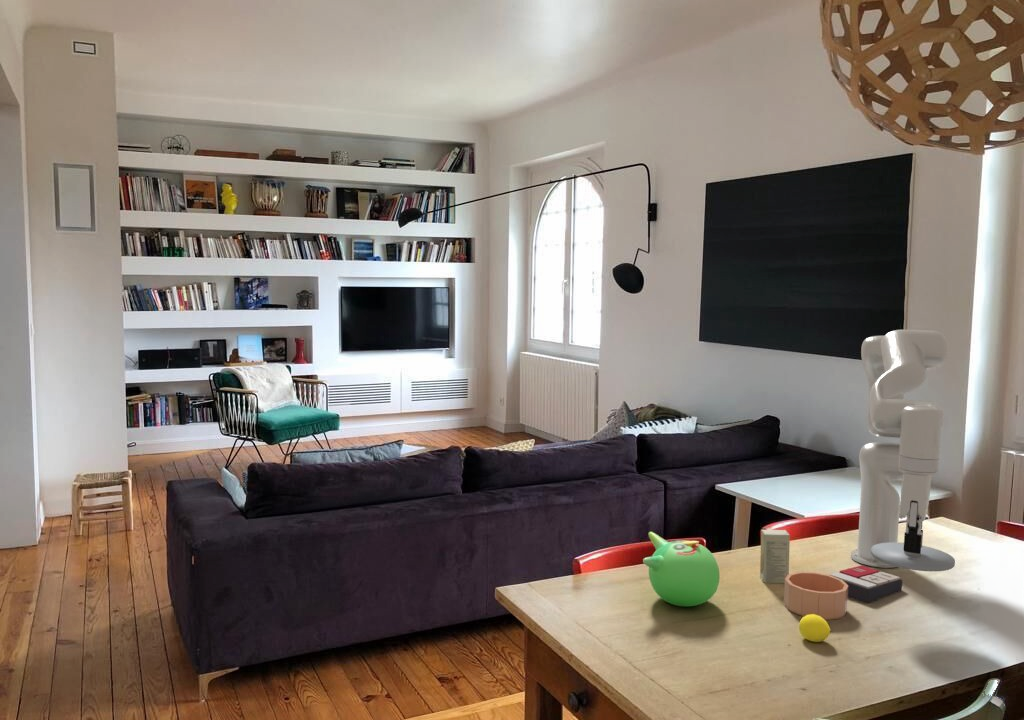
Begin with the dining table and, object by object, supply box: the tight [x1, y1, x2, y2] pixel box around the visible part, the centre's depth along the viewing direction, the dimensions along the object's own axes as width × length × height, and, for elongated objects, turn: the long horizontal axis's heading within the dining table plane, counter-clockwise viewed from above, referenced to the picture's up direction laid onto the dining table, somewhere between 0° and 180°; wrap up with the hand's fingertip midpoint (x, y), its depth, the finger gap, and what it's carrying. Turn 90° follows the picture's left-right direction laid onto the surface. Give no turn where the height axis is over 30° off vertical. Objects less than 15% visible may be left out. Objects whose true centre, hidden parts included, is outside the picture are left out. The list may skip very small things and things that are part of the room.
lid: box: [871, 529, 956, 572], centre depth 175 cm, size 16×16×6 cm
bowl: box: [783, 571, 849, 621], centre depth 186 cm, size 13×13×6 cm
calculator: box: [829, 565, 903, 604], centre depth 198 cm, size 11×4×15 cm
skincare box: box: [759, 529, 791, 584], centre depth 203 cm, size 6×4×12 cm
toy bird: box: [642, 531, 721, 608], centre depth 188 cm, size 18×17×15 cm
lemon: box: [798, 614, 832, 643], centre depth 169 cm, size 7×5×5 cm
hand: (912, 548), depth 175 cm, fingers closed on lid, 3 cm apart
